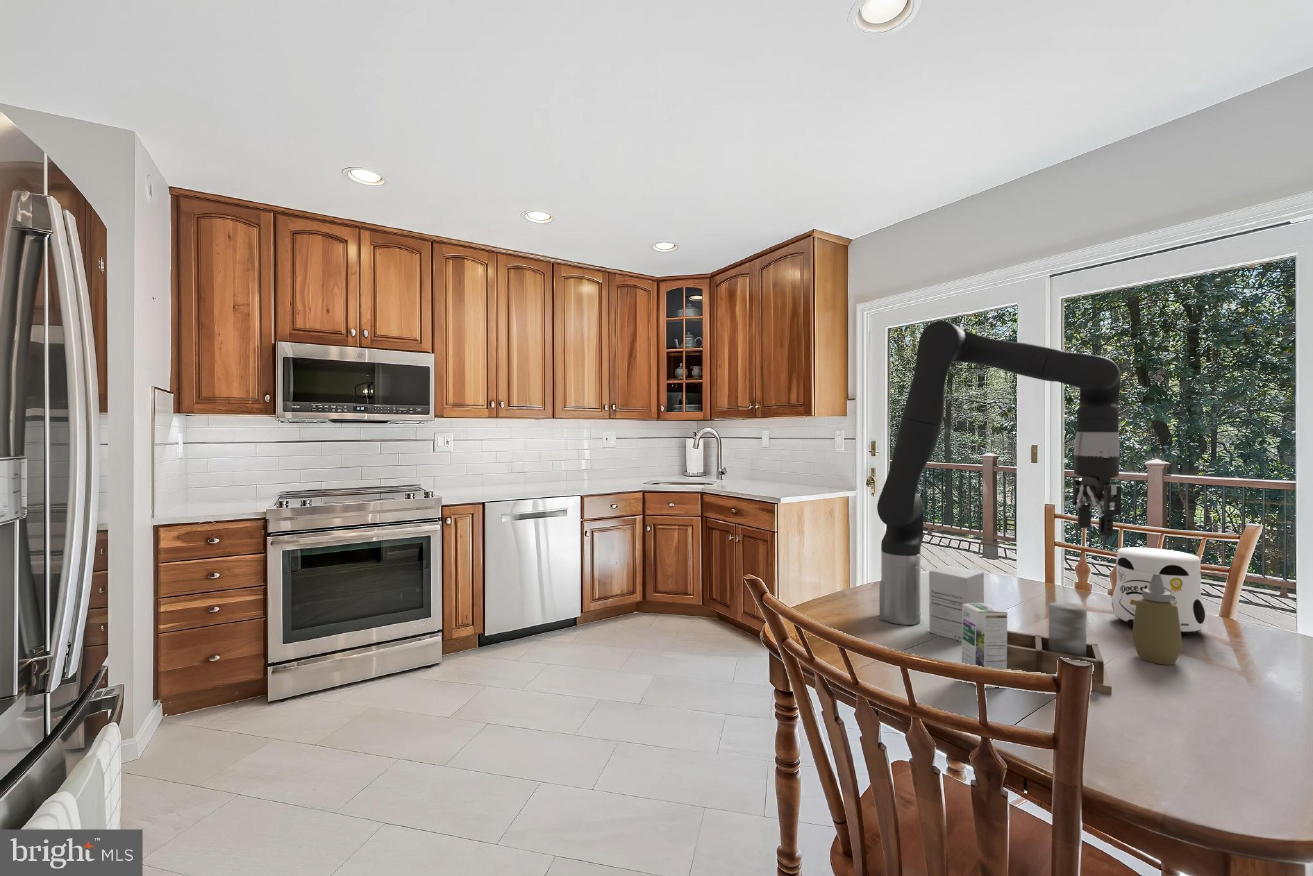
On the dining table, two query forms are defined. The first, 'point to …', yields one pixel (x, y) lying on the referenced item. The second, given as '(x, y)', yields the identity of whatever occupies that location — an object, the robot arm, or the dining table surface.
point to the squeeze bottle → (1157, 625)
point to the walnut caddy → (1058, 646)
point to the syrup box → (984, 636)
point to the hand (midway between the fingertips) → (1094, 531)
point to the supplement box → (952, 598)
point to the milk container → (1176, 576)
